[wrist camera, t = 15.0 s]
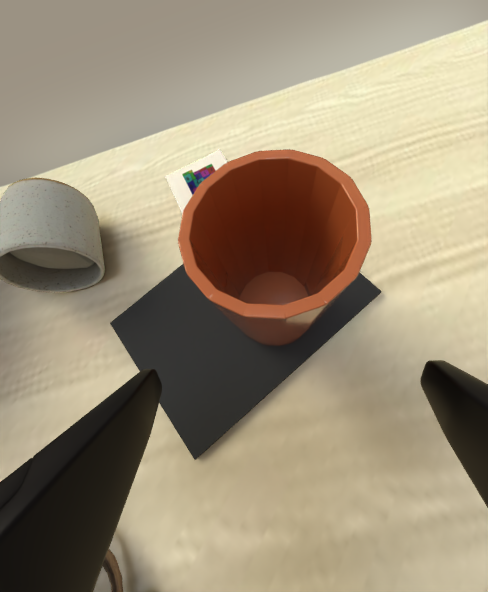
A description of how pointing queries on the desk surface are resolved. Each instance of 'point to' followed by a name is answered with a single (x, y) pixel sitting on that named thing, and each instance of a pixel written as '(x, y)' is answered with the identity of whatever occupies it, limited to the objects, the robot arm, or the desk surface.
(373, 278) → the desk surface
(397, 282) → the desk surface
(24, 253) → the ceramic mug
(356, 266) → the pencil cup
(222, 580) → the desk surface
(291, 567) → the desk surface
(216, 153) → the multicoloured small bent block
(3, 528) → the robot arm
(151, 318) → the felt pad
